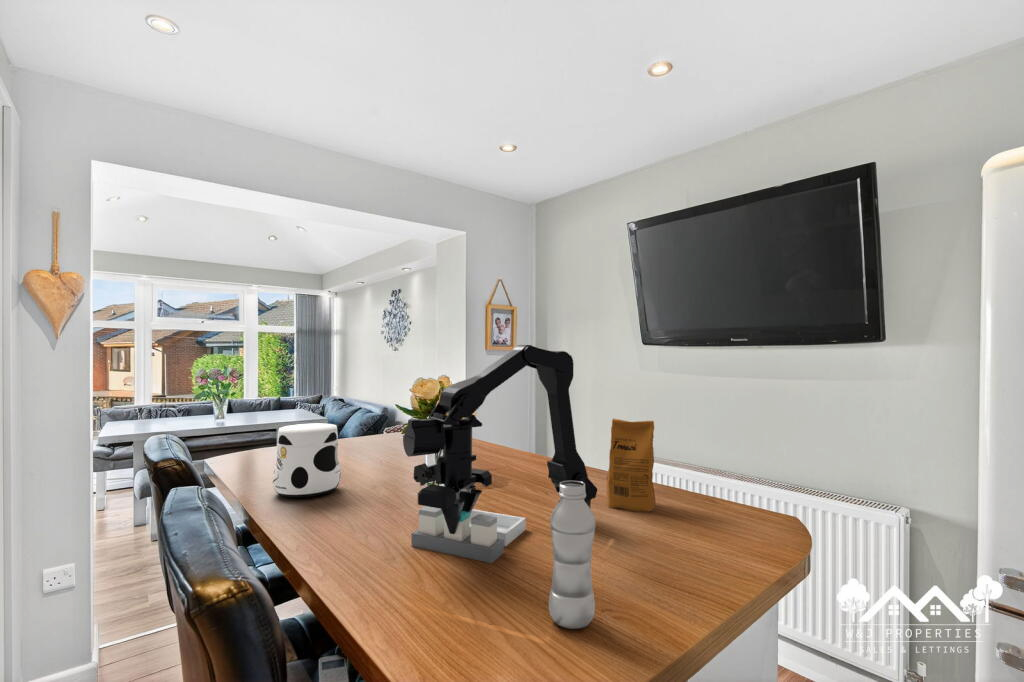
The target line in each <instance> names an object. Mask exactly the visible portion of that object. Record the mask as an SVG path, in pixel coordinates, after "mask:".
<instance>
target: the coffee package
mask: <svg viewBox="0 0 1024 682" xmlns="http://www.w3.org/2000/svg"><path fill="white" fill-rule="evenodd" d="M654 432H655V422H654V420H641V421H640V420H639V421H628V420H622V419H618V418H614V417H613V418H612V420H611V427H610V449H609V455H608V456H609V462H608V463H609V464H608V472H607V474H606V504H607V507H608V508H610V507H611V509H612V508H615V509H618V508H619V509H625V510H627V511H629V512H652V511H653V510H654V507H655V506H656V504H657V501H656V500H657V499H656V493H655V487H654V482H653V478H654V473H653V470H654V464H655V457H654V455H655V454H654V453H655V452H654V446H653V445H654Z"/></svg>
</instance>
